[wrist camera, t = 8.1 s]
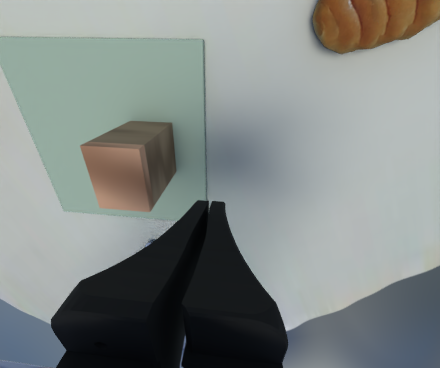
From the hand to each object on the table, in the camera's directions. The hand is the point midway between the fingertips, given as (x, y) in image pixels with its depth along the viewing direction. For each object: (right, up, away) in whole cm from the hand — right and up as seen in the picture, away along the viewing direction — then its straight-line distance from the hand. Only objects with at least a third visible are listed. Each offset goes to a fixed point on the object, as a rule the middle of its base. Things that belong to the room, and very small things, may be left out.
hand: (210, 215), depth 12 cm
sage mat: (-10, +6, +10) cm, 15 cm away
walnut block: (-6, +5, +9) cm, 12 cm away
